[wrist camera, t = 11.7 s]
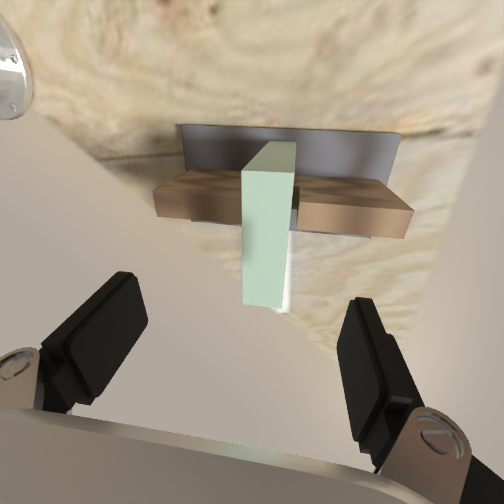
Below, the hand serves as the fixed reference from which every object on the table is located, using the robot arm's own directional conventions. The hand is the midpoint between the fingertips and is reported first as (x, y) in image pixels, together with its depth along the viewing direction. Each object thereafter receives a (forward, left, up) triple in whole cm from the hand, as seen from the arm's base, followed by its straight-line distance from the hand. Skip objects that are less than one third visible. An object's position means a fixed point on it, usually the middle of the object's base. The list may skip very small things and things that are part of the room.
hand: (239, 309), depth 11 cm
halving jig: (0, 0, -24) cm, 24 cm away
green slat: (0, 0, -22) cm, 22 cm away
